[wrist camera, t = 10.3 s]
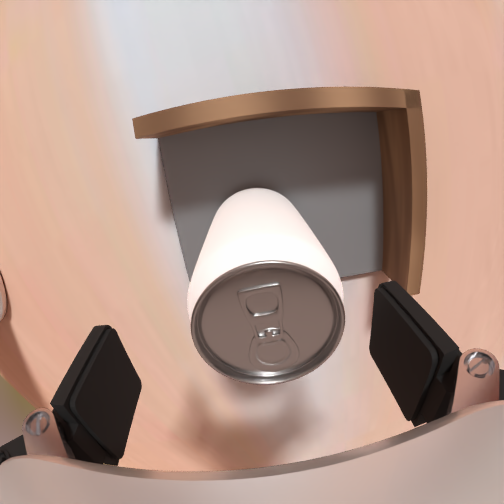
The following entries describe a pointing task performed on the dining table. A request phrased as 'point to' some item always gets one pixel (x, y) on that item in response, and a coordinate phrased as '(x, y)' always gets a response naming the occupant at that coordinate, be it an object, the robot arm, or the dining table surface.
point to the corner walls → (337, 101)
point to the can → (264, 292)
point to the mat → (285, 180)
